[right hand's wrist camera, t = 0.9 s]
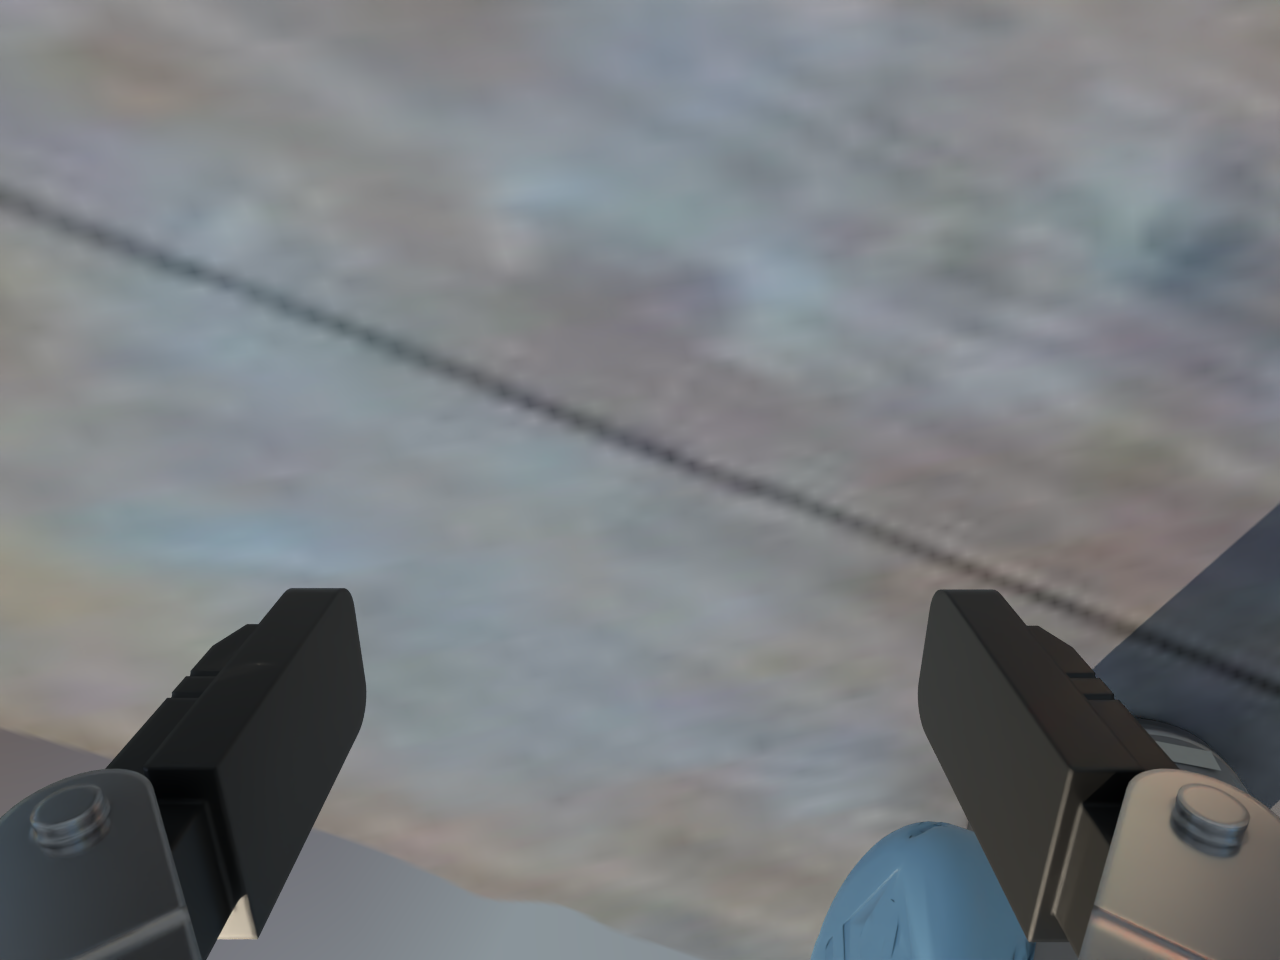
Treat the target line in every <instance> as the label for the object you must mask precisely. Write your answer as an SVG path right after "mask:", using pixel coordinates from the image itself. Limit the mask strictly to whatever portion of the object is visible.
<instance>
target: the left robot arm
mask: <svg viewBox="0 0 1280 960" xmlns="http://www.w3.org/2000/svg"><path fill="white" fill-rule="evenodd" d="M1135 719H1136V720H1137V721H1138V722H1139V723H1140V725H1141V726H1142V727H1143V728H1144V729H1145V730H1146V731H1147V732H1148V734H1149V735H1150V736H1151V737H1152V738H1153V739H1154V740H1155V742H1156V743H1157V744H1158V745H1159V746H1160V747H1161V748H1162V750H1163V751H1164V752H1165V753H1166V754H1167V755H1168V756H1169V757H1170V759H1171V760H1172V761H1173V762H1174V763H1175V764H1176V765H1177V767H1178V768H1179V769H1180V770H1186V771H1191V772H1195V773H1199V774H1203V775H1206V776H1209V777H1212V778H1215V779H1218V780H1220V781H1223V782H1225V783H1228V784H1230V785H1232V786H1234V787H1236V788H1238V789H1240V790H1242V791H1244V792H1245V793H1247V794H1249V792H1248V791H1247V789H1246V788H1245V786H1244V785H1243V783H1242V782H1241V781H1240V779H1239V778H1238V776H1237V774H1236V773H1235V772H1234V771H1233V770H1232V769H1231V767H1230V766H1229V765H1228V764H1227V763H1226V762H1225V761H1224V760H1223V759H1222V758H1221V757H1220V756H1219V755H1218V754H1217V753H1216V752H1215V751H1214V750H1213V749H1212V748H1211V747H1210V746H1209V745H1207V744H1206V743H1205V742H1204V741H1202V740H1201V739H1199V738H1198V737H1197V736H1195V735H1193V734H1191V733H1189V732H1187V731H1185V730H1183V729H1181V728H1178V727H1176V726H1173V725H1170V724H1166V723H1163V722H1158V721H1154V720H1148V719H1139V718H1135ZM1249 795H1250V794H1249ZM810 960H1078V957H1077V955H1076V953H1075V952H1074V950H1073V948H1072V946H1071V944H1070V942H1028V940H1027V938H1026V936H1025V934H1024V932H1023V930H1022V928H1021V926H1020V924H1019V922H1018V920H1017V918H1016V916H1015V914H1014V912H1013V910H1012V908H1011V906H1010V904H1009V902H1008V900H1007V898H1006V896H1005V894H1004V892H1003V890H1002V888H1001V886H1000V883H999V881H998V879H997V877H996V875H995V873H994V871H993V869H992V867H991V865H990V863H989V861H988V859H987V857H986V855H985V853H984V851H983V849H982V847H981V845H980V843H979V841H978V839H977V837H976V835H975V833H974V831H973V829H972V827H971V825H970V823H969V822H968V827H967V829H964V828H961V827H958V826H955V825H952V824H948V823H943V822H929V821H928V822H919V823H914V824H910V825H907V826H904V827H902V828H900V829H898V830H896V831H894V832H892V833H890V834H889V835H887V836H886V837H884V838H883V839H881V840H880V841H879V842H878V843H876V844H875V845H874V846H873V847H872V848H871V849H870V850H869V851H868V852H867V853H866V854H865V855H864V856H863V857H862V858H861V860H860V861H859V862H858V863H857V864H856V866H855V867H854V868H853V869H852V871H851V872H850V874H849V875H848V876H847V878H846V880H845V881H844V883H843V884H842V886H841V888H840V889H839V891H838V893H837V895H836V896H835V898H834V900H833V902H832V904H831V906H830V908H829V911H828V913H827V915H826V917H825V920H824V922H823V925H822V928H821V931H820V934H819V936H818V938H817V941H816V943H815V946H814V949H813V952H812V956H811V959H810Z"/></svg>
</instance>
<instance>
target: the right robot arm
mask: <svg viewBox="0 0 1280 960" xmlns="http://www.w3.org/2000/svg"><path fill="white" fill-rule="evenodd" d="M365 706H366V682H365V675H364V668H363V661H362V655H361V648H360V641H359V635H358V628H357V621H356V614H355V608H354V602H353V599H352V596H351V594H350V592H349V591H348V590H347V589H345V588H291V589H288V590H287V591H286V592H285V593H284V594H283V595H282V596H281V597H280V599H279V600H278V601H277V602H276V603H275V605H274V606H273V607H272V608H271V610H270V611H269V612H268V613H267V614H266V616H265V617H264V618H263V619H262V621H261V622H260V623H259V624H247V625H245V626H243V627H242V628H240V629H239V630H237V631H236V632H234V633H232V634H231V635H229V636H228V637H226V638H224V639H223V640H221V641H220V642H218V643H216V644H215V645H213V646H212V647H211V648H210V650H209V651H208V652H207V653H206V654H205V655H204V656H203V658H202V659H201V660H200V661H199V662H198V663H197V664H196V666H195V667H194V668H193V669H192V670H191V674H190V676H186V677H185V678H184V679H183V680H182V682H181V683H180V684H179V685H178V686H177V687H176V688H175V690H174V691H173V692H172V697H171V698H167V699H166V700H165V701H164V702H163V703H162V704H161V706H160V707H159V708H158V709H157V710H156V711H155V713H154V714H153V715H152V716H151V717H150V718H149V719H148V721H147V722H146V723H145V724H144V725H143V726H142V727H141V729H140V730H139V731H138V732H137V733H136V734H135V735H134V737H133V738H132V739H131V740H130V741H129V742H128V743H127V745H126V746H125V747H124V748H123V749H122V750H121V751H120V753H119V754H118V755H117V756H116V757H115V758H114V759H113V761H112V762H111V763H110V764H109V765H108V766H107V768H106V769H102V770H94V771H89V772H85V773H81V774H77V775H74V776H71V777H68V778H65V779H62V780H60V781H57V782H55V783H53V784H50V785H48V786H46V787H44V788H42V789H40V790H38V791H36V792H35V793H33V794H31V795H30V796H28V797H26V798H25V799H23V800H22V801H20V802H19V803H18V804H16V805H15V806H13V807H12V808H11V809H10V810H9V811H7V812H6V813H5V814H4V815H3V816H2V817H1V818H0V960H206V959H207V957H208V955H209V953H210V952H211V950H212V948H213V946H214V944H215V942H216V940H217V939H258V937H259V935H260V933H261V931H262V929H263V927H264V925H265V923H266V921H267V919H268V917H269V915H270V913H271V911H272V909H273V907H274V905H275V903H276V901H277V898H278V896H279V894H280V892H281V890H282V888H283V886H284V884H285V882H286V880H287V878H288V876H289V874H290V872H291V870H292V868H293V866H294V864H295V862H296V860H297V858H298V856H299V853H300V851H301V849H302V847H303V845H304V843H305V841H306V839H307V837H308V835H309V833H310V831H311V829H312V827H313V825H314V823H315V821H316V819H317V817H318V815H319V813H320V811H321V808H322V806H323V804H324V802H325V800H326V798H327V796H328V794H329V792H330V790H331V788H332V786H333V784H334V782H335V780H336V778H337V776H338V774H339V772H340V770H341V768H342V765H343V763H344V761H345V759H346V757H347V755H348V753H349V751H350V749H351V747H352V745H353V743H354V741H355V739H356V737H357V735H358V733H359V730H360V728H361V725H362V722H363V718H364V713H365ZM918 706H919V713H920V718H921V722H922V726H923V729H924V731H925V734H926V736H927V738H928V740H929V742H930V744H931V746H932V748H933V750H934V752H935V754H936V756H937V758H938V760H939V762H940V764H941V766H942V768H943V770H944V772H945V774H946V776H947V778H948V780H949V782H950V784H951V786H952V788H953V790H954V792H955V795H956V797H957V799H958V801H959V803H960V805H961V807H962V809H963V811H964V813H965V815H966V817H967V819H968V821H969V823H970V825H971V827H972V829H973V831H974V833H975V835H976V837H977V839H978V841H979V843H980V845H981V847H982V849H983V851H984V853H985V855H986V857H987V859H988V861H989V863H990V865H991V867H992V869H993V871H994V873H995V875H996V877H997V879H998V881H999V883H1000V886H1001V888H1002V890H1003V892H1004V894H1005V896H1006V898H1007V900H1008V902H1009V904H1010V906H1011V908H1012V910H1013V912H1014V914H1015V916H1016V918H1017V920H1018V922H1019V924H1020V926H1021V928H1022V930H1023V932H1024V934H1025V936H1026V938H1027V940H1028V942H1070V944H1071V946H1072V948H1073V950H1074V952H1075V953H1076V955H1077V957H1078V960H1280V818H1279V817H1278V816H1277V815H1276V814H1275V813H1274V812H1273V811H1271V810H1270V809H1269V808H1268V807H1267V806H1265V805H1264V804H1262V803H1261V802H1260V801H1258V800H1257V799H1255V798H1254V797H1252V796H1250V795H1249V794H1247V793H1245V792H1244V791H1242V790H1240V789H1238V788H1236V787H1234V786H1232V785H1230V784H1228V783H1225V782H1223V781H1220V780H1218V779H1215V778H1212V777H1209V776H1206V775H1203V774H1199V773H1195V772H1191V771H1186V770H1180V769H1179V768H1178V767H1177V765H1176V764H1175V763H1174V762H1173V761H1172V760H1171V759H1170V757H1169V756H1168V755H1167V754H1166V753H1165V752H1164V751H1163V750H1162V748H1161V747H1160V746H1159V745H1158V744H1157V743H1156V742H1155V740H1154V739H1153V738H1152V737H1151V736H1150V735H1149V734H1148V732H1147V731H1146V730H1145V729H1144V728H1143V727H1142V726H1141V725H1140V723H1139V722H1138V721H1137V720H1136V719H1135V718H1134V717H1133V715H1132V714H1131V713H1130V712H1129V711H1128V710H1127V709H1126V708H1125V706H1124V705H1123V704H1122V703H1121V702H1120V701H1119V700H1115V699H1114V694H1113V693H1112V692H1111V690H1110V689H1109V688H1108V687H1107V686H1106V685H1105V684H1104V683H1103V681H1102V680H1101V679H1100V678H1096V677H1095V672H1094V671H1093V670H1092V669H1091V668H1090V667H1089V666H1088V664H1087V663H1086V662H1085V661H1084V660H1083V659H1082V658H1081V656H1080V655H1079V654H1078V653H1077V652H1076V651H1075V650H1074V648H1073V647H1071V646H1069V645H1068V644H1066V643H1065V642H1063V641H1061V640H1060V639H1058V638H1057V637H1055V636H1053V635H1052V634H1050V633H1049V632H1047V631H1045V630H1044V629H1042V628H1041V627H1039V626H1026V624H1025V623H1024V622H1023V621H1022V619H1021V618H1020V617H1019V616H1018V615H1017V613H1016V612H1015V611H1014V610H1013V609H1012V607H1011V606H1010V605H1009V604H1008V602H1007V601H1006V600H1005V599H1004V598H1003V596H1002V595H1001V594H1000V593H999V592H998V591H996V590H938V591H937V592H936V593H935V594H934V596H933V598H932V602H931V606H930V612H929V618H928V625H927V631H926V638H925V645H924V651H923V658H922V664H921V671H920V678H919V685H918Z"/></svg>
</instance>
